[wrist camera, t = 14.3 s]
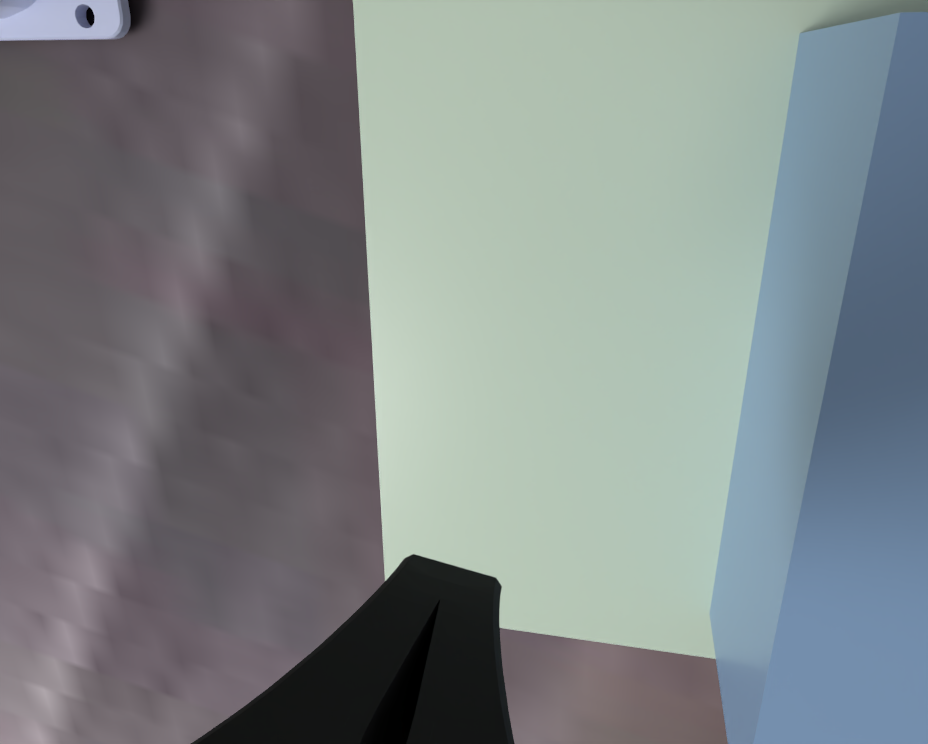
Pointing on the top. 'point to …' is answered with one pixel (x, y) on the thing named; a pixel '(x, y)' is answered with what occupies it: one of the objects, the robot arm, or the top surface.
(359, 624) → the robot arm
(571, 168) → the board
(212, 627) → the top surface
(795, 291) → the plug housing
